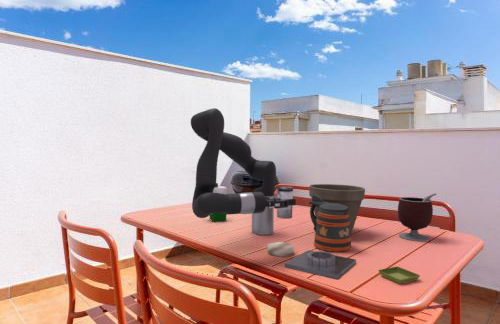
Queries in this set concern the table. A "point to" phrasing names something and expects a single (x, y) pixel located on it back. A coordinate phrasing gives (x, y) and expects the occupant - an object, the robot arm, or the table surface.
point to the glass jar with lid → (285, 194)
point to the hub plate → (321, 269)
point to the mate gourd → (415, 216)
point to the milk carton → (219, 216)
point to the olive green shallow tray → (398, 274)
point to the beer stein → (330, 225)
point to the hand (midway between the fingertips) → (290, 200)
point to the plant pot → (340, 197)
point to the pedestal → (280, 249)
